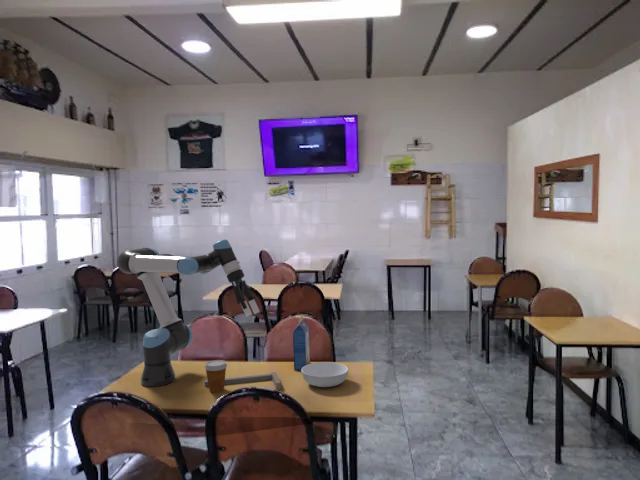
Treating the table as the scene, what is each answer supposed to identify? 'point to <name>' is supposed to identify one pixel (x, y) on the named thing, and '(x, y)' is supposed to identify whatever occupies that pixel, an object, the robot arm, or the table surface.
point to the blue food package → (301, 345)
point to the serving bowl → (324, 374)
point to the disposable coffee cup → (216, 375)
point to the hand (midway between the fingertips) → (253, 314)
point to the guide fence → (254, 379)
